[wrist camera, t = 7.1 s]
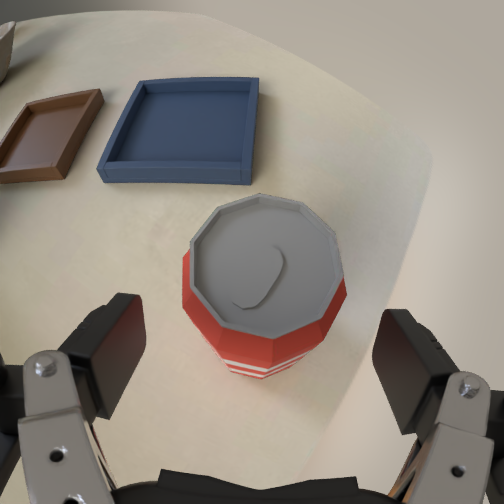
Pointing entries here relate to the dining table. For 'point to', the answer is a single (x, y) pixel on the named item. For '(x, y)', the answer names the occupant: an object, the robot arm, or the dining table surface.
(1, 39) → the ceramic bowl
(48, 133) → the tray
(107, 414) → the robot arm
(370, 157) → the dining table surface
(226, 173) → the tray
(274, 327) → the beverage can
